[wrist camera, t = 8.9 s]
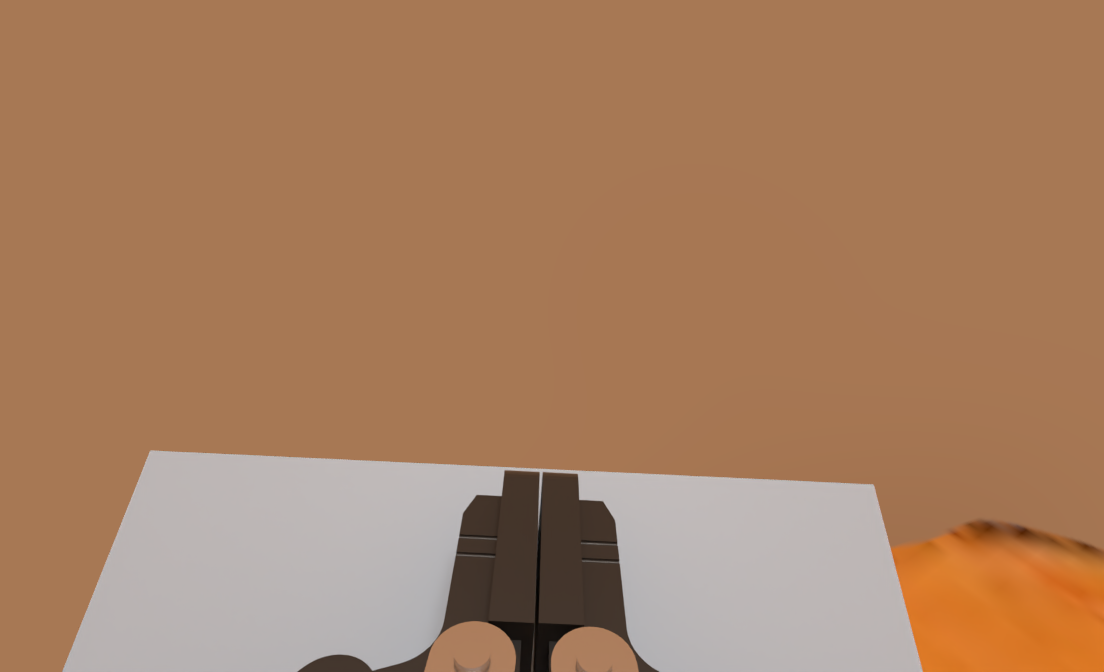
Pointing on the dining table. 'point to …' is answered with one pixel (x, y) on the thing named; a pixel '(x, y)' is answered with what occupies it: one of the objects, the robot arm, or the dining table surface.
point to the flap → (429, 554)
